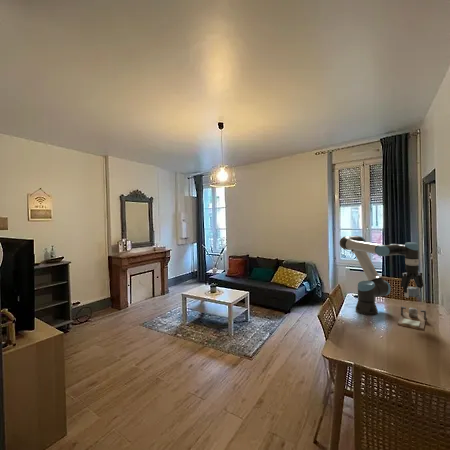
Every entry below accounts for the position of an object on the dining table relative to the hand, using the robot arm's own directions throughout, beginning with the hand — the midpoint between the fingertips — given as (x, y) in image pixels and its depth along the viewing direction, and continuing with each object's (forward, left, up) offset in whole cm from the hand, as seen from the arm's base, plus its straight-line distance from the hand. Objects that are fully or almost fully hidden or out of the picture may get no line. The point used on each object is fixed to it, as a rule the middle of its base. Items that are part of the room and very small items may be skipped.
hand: (412, 296), depth 176 cm
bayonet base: (0, 0, -17) cm, 17 cm away
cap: (0, 0, +1) cm, 1 cm away
